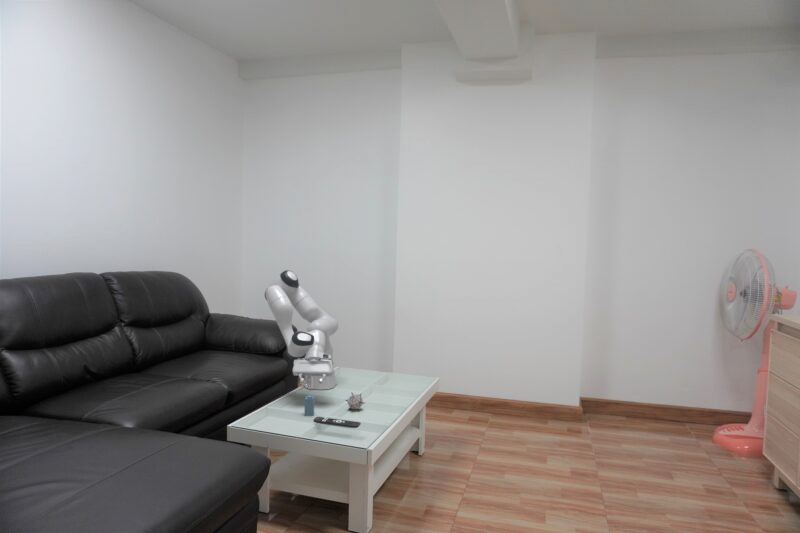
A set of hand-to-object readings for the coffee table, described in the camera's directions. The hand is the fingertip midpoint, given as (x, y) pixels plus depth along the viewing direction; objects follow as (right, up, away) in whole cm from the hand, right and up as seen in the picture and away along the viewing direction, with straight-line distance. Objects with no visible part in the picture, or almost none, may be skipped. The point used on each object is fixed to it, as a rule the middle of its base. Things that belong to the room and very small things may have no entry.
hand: (311, 382), depth 269 cm
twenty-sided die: (+22, -13, 0) cm, 25 cm away
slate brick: (+1, -13, -9) cm, 16 cm away
